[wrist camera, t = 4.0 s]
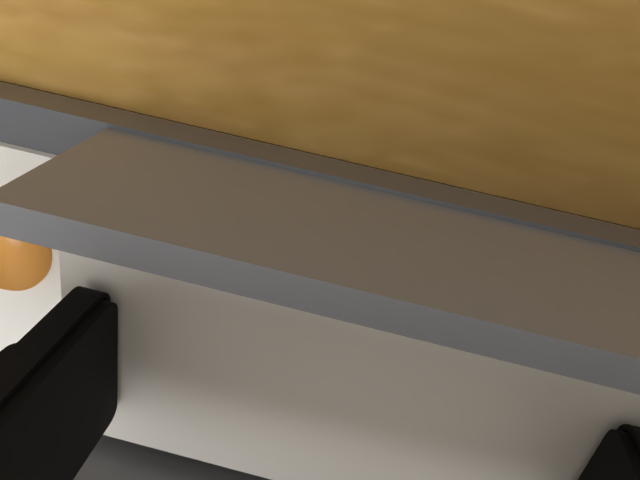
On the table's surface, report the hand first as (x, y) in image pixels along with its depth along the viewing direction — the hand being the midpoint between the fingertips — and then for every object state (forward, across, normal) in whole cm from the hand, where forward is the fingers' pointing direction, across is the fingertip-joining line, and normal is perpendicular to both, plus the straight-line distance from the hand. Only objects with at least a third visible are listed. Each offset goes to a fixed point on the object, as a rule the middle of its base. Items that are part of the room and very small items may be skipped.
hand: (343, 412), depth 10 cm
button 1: (+3, 0, 0) cm, 3 cm away
